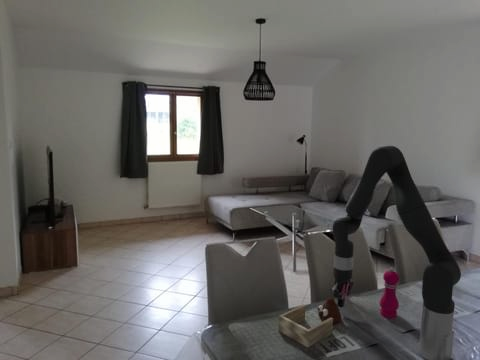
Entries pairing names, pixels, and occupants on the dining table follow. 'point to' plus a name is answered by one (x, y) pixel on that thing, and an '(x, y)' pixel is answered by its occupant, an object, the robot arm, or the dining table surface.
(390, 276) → the pepper mill
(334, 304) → the poop emoji
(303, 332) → the birch holder
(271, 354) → the dining table surface
